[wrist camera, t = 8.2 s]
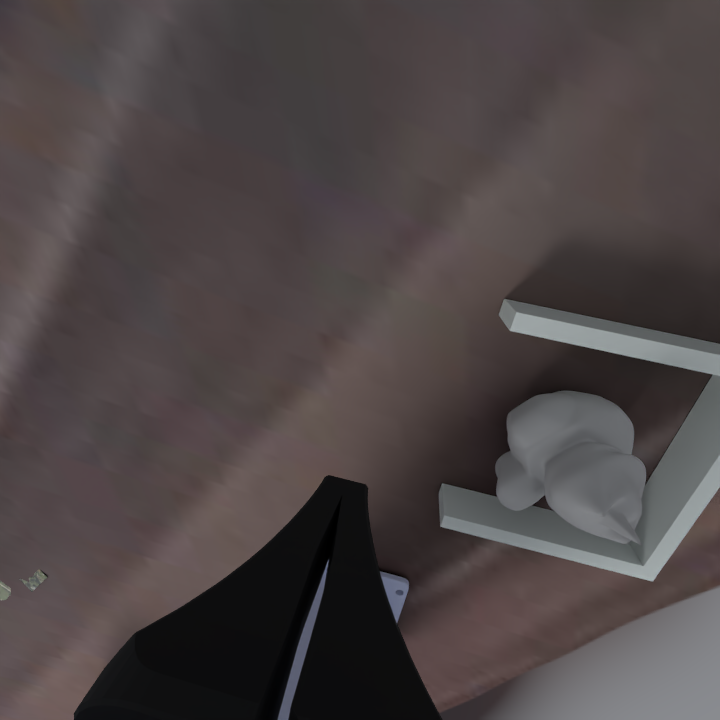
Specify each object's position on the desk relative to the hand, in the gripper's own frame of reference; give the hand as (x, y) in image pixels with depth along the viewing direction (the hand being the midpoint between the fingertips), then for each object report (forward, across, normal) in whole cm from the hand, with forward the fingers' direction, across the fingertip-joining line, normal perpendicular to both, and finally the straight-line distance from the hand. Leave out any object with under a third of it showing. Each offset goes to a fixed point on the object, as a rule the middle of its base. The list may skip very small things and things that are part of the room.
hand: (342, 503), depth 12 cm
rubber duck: (+9, -9, 0) cm, 13 cm away
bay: (+9, -10, 0) cm, 13 cm away
